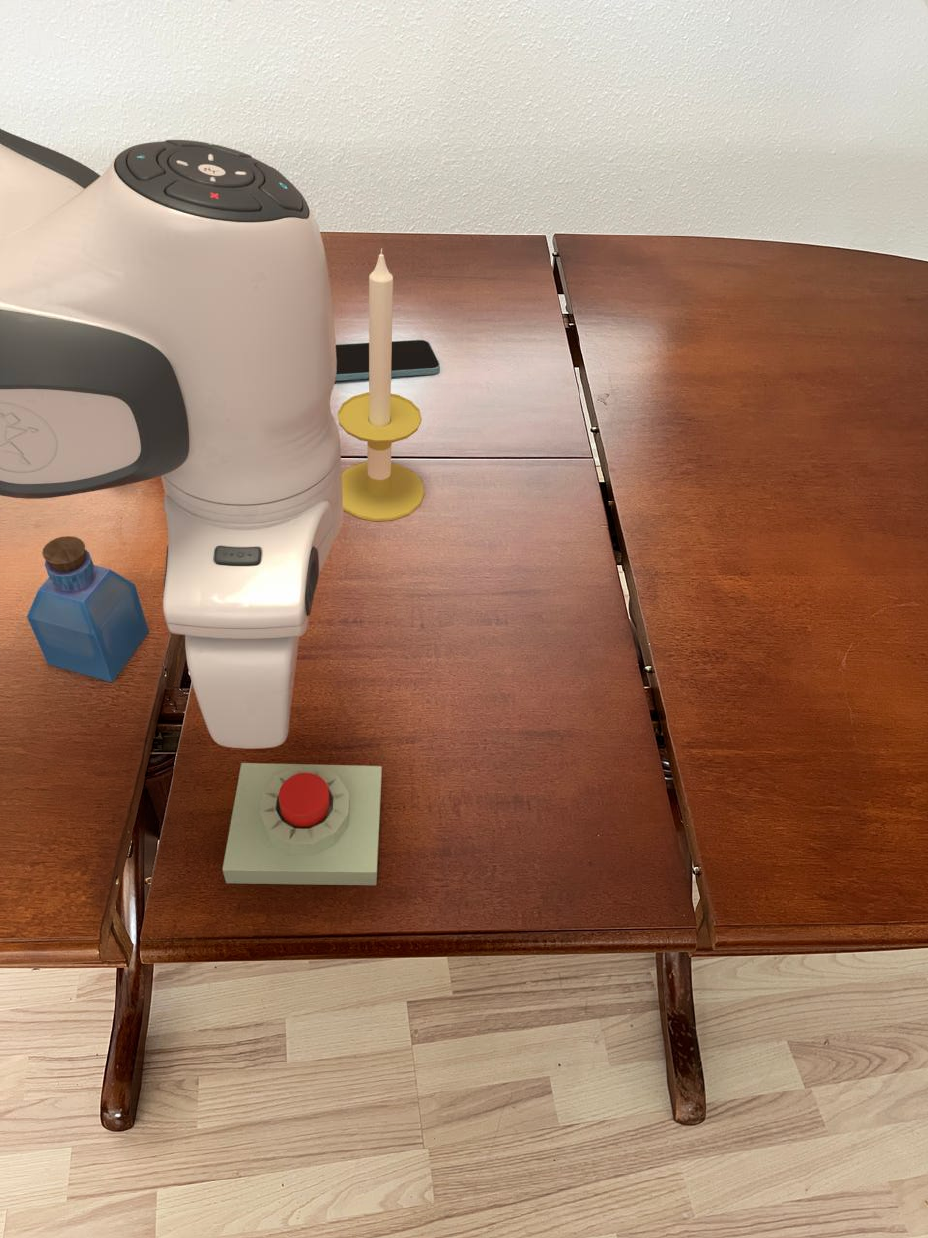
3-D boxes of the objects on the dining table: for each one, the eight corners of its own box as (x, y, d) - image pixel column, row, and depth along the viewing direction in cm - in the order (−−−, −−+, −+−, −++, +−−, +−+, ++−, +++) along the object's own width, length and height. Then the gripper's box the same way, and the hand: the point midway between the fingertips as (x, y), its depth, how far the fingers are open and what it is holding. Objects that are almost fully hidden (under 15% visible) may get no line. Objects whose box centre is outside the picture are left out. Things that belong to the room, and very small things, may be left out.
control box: (225, 883, 63) (218, 858, 60) (244, 777, 69) (238, 749, 66) (376, 885, 64) (376, 861, 61) (381, 780, 70) (382, 753, 67)
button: (277, 827, 62) (275, 815, 61) (283, 784, 65) (281, 771, 63) (327, 828, 62) (326, 816, 61) (331, 785, 65) (330, 772, 64)
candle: (347, 529, 90) (341, 281, 70) (322, 471, 96) (309, 228, 76) (437, 511, 93) (455, 269, 73) (407, 456, 99) (416, 218, 79)
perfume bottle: (47, 664, 75) (4, 566, 66) (87, 614, 79) (51, 516, 70) (112, 682, 74) (77, 585, 65) (148, 631, 78) (120, 534, 69)
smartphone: (442, 368, 110) (325, 375, 106) (441, 375, 111) (325, 383, 107) (427, 338, 115) (315, 345, 110) (427, 346, 115) (315, 352, 111)
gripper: (224, 379, 51) (251, 549, 61) (153, 639, 37) (202, 802, 47) (331, 383, 51) (340, 551, 62) (300, 642, 38) (317, 803, 48)
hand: (280, 663), depth 54 cm, fingers open, 8 cm apart
